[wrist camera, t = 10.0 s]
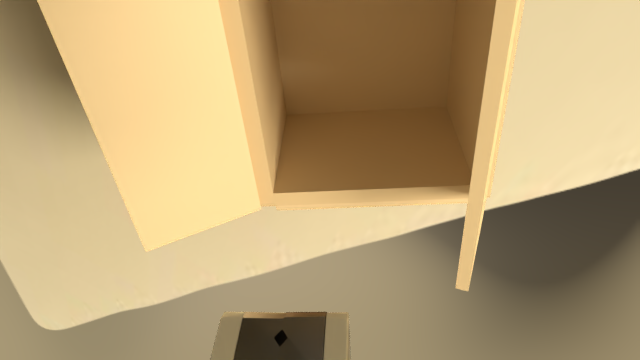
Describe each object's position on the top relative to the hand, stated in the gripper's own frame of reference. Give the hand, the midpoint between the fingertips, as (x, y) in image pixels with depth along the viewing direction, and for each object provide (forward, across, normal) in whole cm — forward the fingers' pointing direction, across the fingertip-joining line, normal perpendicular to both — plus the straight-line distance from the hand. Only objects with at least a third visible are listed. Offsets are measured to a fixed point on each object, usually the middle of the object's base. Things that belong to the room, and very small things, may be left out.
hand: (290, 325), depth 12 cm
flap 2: (+16, -9, +1) cm, 18 cm away
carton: (+26, -2, +1) cm, 26 cm away
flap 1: (+15, +4, +1) cm, 16 cm away
